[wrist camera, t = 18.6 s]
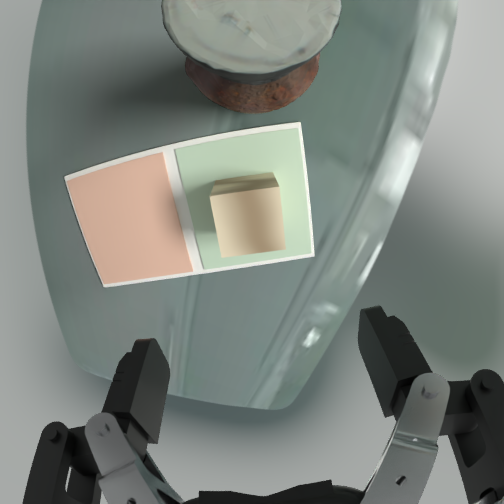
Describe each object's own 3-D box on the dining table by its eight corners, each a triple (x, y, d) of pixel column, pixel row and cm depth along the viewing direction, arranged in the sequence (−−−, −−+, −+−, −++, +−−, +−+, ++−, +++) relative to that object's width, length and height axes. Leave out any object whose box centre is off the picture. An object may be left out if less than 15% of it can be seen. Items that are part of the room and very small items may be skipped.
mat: (66, 175, 25) (63, 177, 24) (299, 121, 24) (300, 122, 23) (105, 285, 31) (103, 288, 30) (313, 254, 30) (314, 257, 29)
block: (225, 232, 28) (221, 257, 23) (215, 180, 25) (209, 196, 21) (278, 225, 28) (285, 249, 23) (272, 172, 25) (279, 186, 21)
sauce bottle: (276, 36, 20) (351, -103, 2) (299, 100, 23) (440, 89, 5) (202, 58, 21) (100, -49, 3) (226, 122, 24) (173, 158, 6)
